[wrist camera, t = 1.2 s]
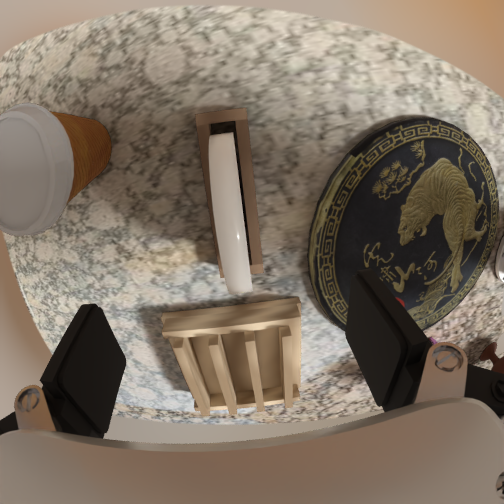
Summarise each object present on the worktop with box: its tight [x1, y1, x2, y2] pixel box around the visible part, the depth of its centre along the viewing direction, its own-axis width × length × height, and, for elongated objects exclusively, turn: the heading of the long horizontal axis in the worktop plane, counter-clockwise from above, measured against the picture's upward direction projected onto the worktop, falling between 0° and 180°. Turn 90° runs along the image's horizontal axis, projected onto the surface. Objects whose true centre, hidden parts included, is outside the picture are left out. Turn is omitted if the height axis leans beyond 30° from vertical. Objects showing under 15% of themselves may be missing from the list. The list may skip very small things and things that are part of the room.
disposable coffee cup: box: [0, 103, 111, 236], centre depth 18 cm, size 10×10×12 cm
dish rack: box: [161, 297, 301, 416], centre depth 34 cm, size 16×16×5 cm
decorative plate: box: [308, 118, 499, 331], centre depth 30 cm, size 30×2×30 cm
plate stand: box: [195, 108, 264, 278], centre depth 26 cm, size 4×15×2 cm, turn 6°
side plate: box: [209, 132, 253, 294], centre depth 22 cm, size 2×12×12 cm, turn 6°
